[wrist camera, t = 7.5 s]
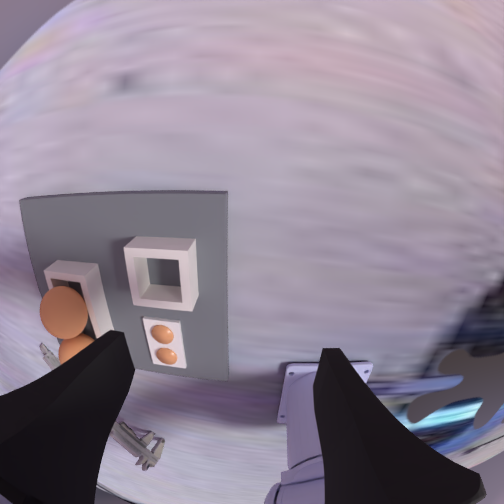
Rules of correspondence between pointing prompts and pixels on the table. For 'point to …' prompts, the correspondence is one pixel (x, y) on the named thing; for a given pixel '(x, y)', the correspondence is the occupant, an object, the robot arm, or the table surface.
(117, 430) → the caliper
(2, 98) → the table surface
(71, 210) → the mat
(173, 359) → the card
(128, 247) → the tube
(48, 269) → the hollow rectangular frame
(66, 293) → the ball
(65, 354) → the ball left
